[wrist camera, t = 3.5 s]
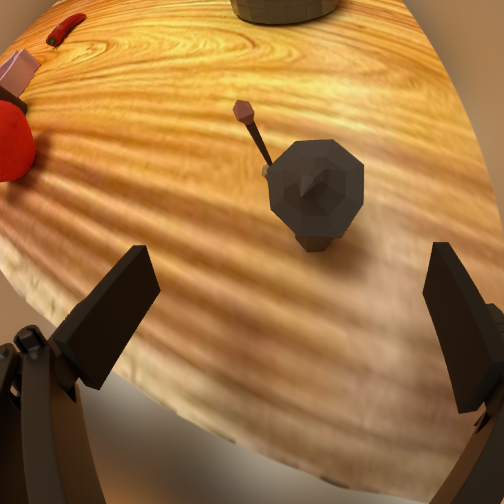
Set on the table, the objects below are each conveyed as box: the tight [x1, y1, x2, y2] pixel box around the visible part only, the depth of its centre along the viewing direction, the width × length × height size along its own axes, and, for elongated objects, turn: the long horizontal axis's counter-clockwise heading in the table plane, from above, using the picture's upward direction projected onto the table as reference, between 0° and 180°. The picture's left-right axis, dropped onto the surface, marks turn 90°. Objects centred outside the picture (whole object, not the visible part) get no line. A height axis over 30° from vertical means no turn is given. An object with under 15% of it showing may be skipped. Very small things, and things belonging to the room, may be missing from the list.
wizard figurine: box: [233, 100, 364, 252], centre depth 19 cm, size 8×6×12 cm
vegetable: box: [46, 13, 86, 47], centre depth 47 cm, size 4×5×12 cm
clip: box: [0, 48, 40, 98], centre depth 44 cm, size 20×12×7 cm, turn 150°
